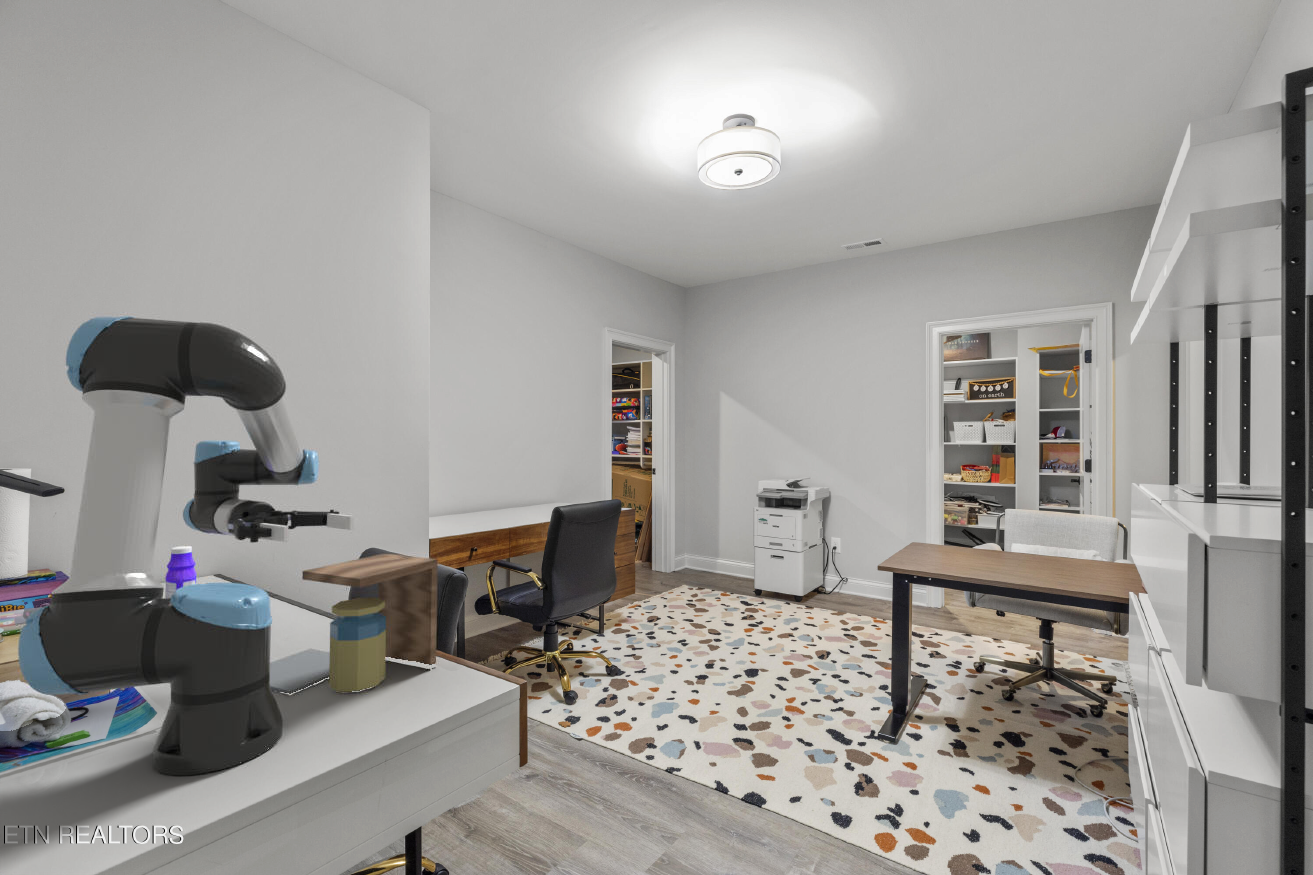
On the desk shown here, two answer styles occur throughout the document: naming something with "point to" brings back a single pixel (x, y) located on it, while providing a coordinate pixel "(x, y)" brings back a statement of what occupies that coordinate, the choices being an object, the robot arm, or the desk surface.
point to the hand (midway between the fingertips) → (321, 528)
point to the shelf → (395, 599)
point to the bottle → (180, 570)
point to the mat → (299, 670)
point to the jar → (357, 645)
